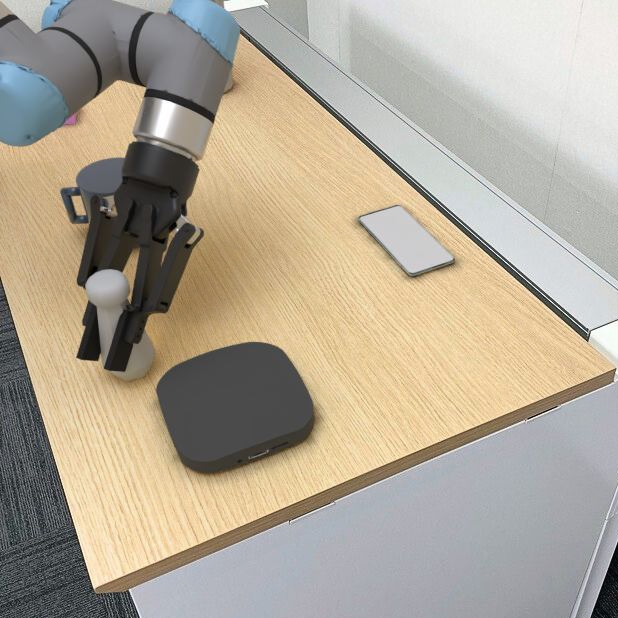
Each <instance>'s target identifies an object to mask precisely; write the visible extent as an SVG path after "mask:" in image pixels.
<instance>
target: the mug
mask: <svg viewBox="0 0 618 618" xmlns="http://www.w3.org/2000/svg"><path fill="white" fill-rule="evenodd" d="M124 159H125V157H119V156H118V157H107V158H103V159H99V160H97V161H96V160H95V161H94V162H92V163H89V164H87V165H86V166H84V167H83V168H81V169H80V170H79V171H78V173H77V174H76V177H75V183H76V186H66V187H62V188H61V189H60V191H59V192H60V196H61V199H62V202H63V206H64V208H65V212H66V215H67V217H68V221H69V223H70V224H72V225H87V224H88V225H89V224H90V220H91V208H90V199H91V197H92V196H94V195H97V196H99V197H102V198H103V197H108V196H112V195H114V193H115V191H116V189H117V188H118V187H119V186H120V184H121V183H122V173H121V169H122V165H123V162H124ZM73 197H80V200H81V203H82V207H83V209H84V213H85V214H78V213H77V210H76V207H75V204H74V200H73ZM116 211H117V210H116ZM117 217H118V215H117V216H116V217H115V216H114V224H115V222H116V220H117ZM126 233H127V232H126ZM111 238H112V237H111ZM136 248H140V246H139V244H137V245H135V246H134V248H133V249H136Z"/></svg>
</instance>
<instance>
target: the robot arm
mask: <svg viewBox="0 0 618 618" xmlns="http://www.w3.org/2000/svg"><path fill="white" fill-rule="evenodd" d="M49 2H50V3H49V5H48V6H45V8H44V11H43V13H42V18H41V27H40V28H41V30H39V31H38V32H37V33H36V32H35V31H34V30H33V29H32V28H30V26H29V25H28V24H27V23H25V22H24V21H23V20H22V19H21V18H19V17H18V16H17V15H16V14H15V13H14V11H12V10H11V9H10V8H8V7H7V6H6V4H4V3H3V2H2V1H1V0H0V143H2V144H4V145H7V146H10V147H17V148H23V147H28V146H32V145H34V144H36V143H37V142H39V141H41V140H42V139H44V138H46V137H47V136H48V135H50V134H51V133H54V132H56V131H57V130H58V129H61V128H62V127H64V124H65V122H66V121H67V120H68V119H69V118H70V117H71V116H72V115H74V114H75V113H76V112H77V113H78V112H79V111H80V110H81V109H82V108H84V107H85V106H87V104H89V103H91V102H92V101H93V100H94V99H96V98H97V97H98V96H100V95H101V94H102V93H104V92H105V91H106V90H108V88H110V87H111V86H112V85H114V83H116V82H118V81H121V82H125V83H129V84H131V85H135V86H138V87H142V88H145V91H144V94H143V98H142V100H141V104H140V107H139V109H138V113H137V116H136V119H135V122H134V125H133V129H132V130H131V131H132V132H131V134H132V136H133V137H134V139H136V141H135V140H134V141H133V140H132V141H131V142H129V143H128V146H127V149H126V153H125V156H124V158H125V159H124V162H123V165H122V169H121V173H122V183H121V184H120V186H119V187H118V188H117V189H116V191H115V193H114V195H112V196H108V197H103V198H102V197H99V196H97V195H94V196H92V197H91V199H90V208H91V220H90V224H88V229H87V233H86V238H85V242H84V247H83V252H82V255H81V259H80V264H79V268H78V273H77V277H76V285H77V286H78V287H81V288H82V289H84V291H86V287H85V284H86V282H87V280H88V279H89V278H90V277H91V276H92V275H93V274H95V273H96V272H99V271H101V270H107V269H112V270H117V271H120V272H122V273H124V270H125V268H126V265H127V263H128V261H129V259H130V257H131V254H132V253H133V250H134V249H135V248H134V246H135V245H137V244H139V246H140V247H139V252H138V257H137V264H136V270H135V276H134V280H133V281H134V282H133V285H132V286H133V287H132V293H131V297H130V305H126V309H127V310H124V309H123V312H122V314H121V315H120V317H119V320H118V323H117V327H116V330H115V333H114V336H113V340H112V343H111V346H110V349H109V353H108V356H107V359H106V362H105V366H103V370H105V371H108V372H110V371H119V372H125V371H126V368H127V365H128V361H129V358H130V355H131V352H132V348H133V343H134V344H139V342H140V341H141V339H142V336H143V333H144V329H145V328H146V326H147V322H148V319H149V317H150V316H151V315H156V314H164V315H165V314H167V313H168V312H169V310H170V308H171V305H172V303H173V300H174V298H175V295H176V292H177V290H178V288H179V286H180V283H181V280H182V278H183V275H184V273H185V270H186V268H187V265H188V263H189V260H190V258H191V255H192V252H193V250H194V249H195V247H196V246H197V245H198V244H199V243H200V241H201V240H202V239H203V237H204V236H205V231H204V229H203V228H202V227H199V226H197V225H196V224H194V223H193V222H192V221H191V220H190V219H189V218H188V217H187V216H188V208H187V204H188V203H187V202H188V201H189V198H191V197H192V196H193V193H194V189H195V186H196V184H197V180H198V176H199V174H200V167H199V165H198V163H196V162H200V161H202V160H203V159H204V157H205V152H206V150H207V147H208V143H209V140H210V137H211V133H212V130H213V128H214V124H215V121H216V116H217V113H218V111H219V109H220V108H219V107H220V104H221V102H222V99H223V95H224V93H223V92H224V89H225V86H226V83H227V80H228V77H229V74H230V71H231V69H232V70H233V69H234V61H235V56H236V52H237V48H238V43H239V41H240V40H239V39H240V36H241V27H240V25H239V23H238V21H237V20H236V17H234V15H233V14H232V13H231V12H229V11H228V10H227V9H226V8H225V7H224V8H223V7H221V6H219V5H218V4H216V3H214V2H212V1H209V0H172V2H171V4H170V7H169V8H168V10H167V11H166V13H162V12H155V11H150V10H147V9H144V8H140V7H137V6H134V5H130V4H127V3H124V2H121V1H118V0H117V1H116V0H50V1H49ZM116 210H117V211H116ZM117 215H118V217H117V220H116V222H115V224H114V216H115V217H116V216H117ZM126 232H127V233H126ZM172 232H173V234H174V235H173V237H172V239H171V241H170V243H169V238H170V234H171V233H172ZM111 237H112V238H111ZM168 244H169V245H168ZM164 253H165V255H164ZM163 256H164V257H163ZM81 326H83V327H84V329H83V334H82V337H81V340H80V342H79V343H80V344H79V346H78V350H77V353H76V357H75V358H76V359H78V360H81V361H89V362H99V360H100V358H101V345H100V335H99V325H98V314H97V306H95V305H94V304H93V303H91V302H90V301H89V299H87V303H86V307H85V310H84V313H83V317H82V320H81ZM145 330H146V329H145Z"/></svg>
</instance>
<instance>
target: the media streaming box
mask: <svg viewBox="0 0 618 618" xmlns="http://www.w3.org/2000/svg"><path fill="white" fill-rule="evenodd" d="M155 392H156V396H157V399H158V403H159V407H160V410H161V414H162V416H163V420H164V423H165V426H166V429H167V431H168V434H169V437H170V439H171V441H172V444H173V446H174V448H175V450H176V453H177V456H178V457H179V460H180V462H181V463H182V464H183V465H184V466H185V467H186V468H188V469H189V470H191V471H193V472H196V473H202V474H219V473H222V472H225V471H227V470H230V469H234V468H236V467H241V466H243V465H246V464H249V463H252V462H254V461H257V460H260V459H262V458H265V457H267V456H270V455H273V454H275V453H278V452H281V451H283V450H285V449H288V448H291V447H292V446H295V445H298V444H299V443H301V442H303V441H304V440H305V439H306V438H307V437H308V436H309V435H310V433H311V432H312V430H313V428H314V425H315V411H314V402H313V398H312V397H311V394H310V391H309V390H308V388H307V386H306V384H305V382H304V380H303V378H302V376H301V374H300V373H299V371H298V370H297V368H296V366H295V364H294V363H293V362H292V360H291V359H290V357H289V356H288V355H287V353H286V352H285V351H284V350H283V349H282V348H281V347H279V346H278V345H275V344H272V343H268V342H264V341H246V342H241V343H240V342H239V343H236V344H230V345H227V346H223V347H219V348H215V349H213V350H209V351H207V352H204V353H201V354H198V355H196V356H193V357H191V358H187V359H186V360H184V361H181V362H179V363H177V364H175V365H174V366H172V367H171V368H169V369H168V370H167V371H166V372H165V373H163V375H162V376H161V377H160V379H159V380H158V382H157V384H156V387H155Z"/></svg>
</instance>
